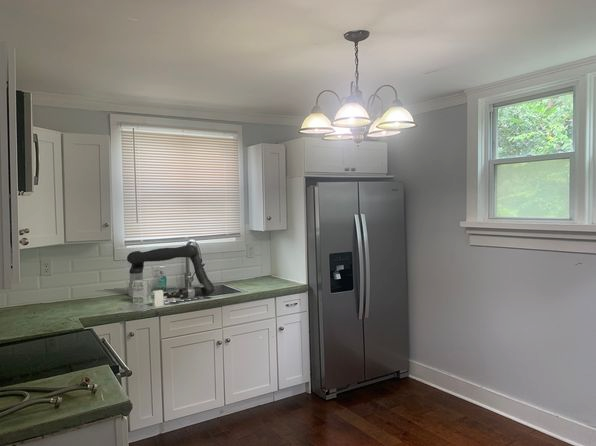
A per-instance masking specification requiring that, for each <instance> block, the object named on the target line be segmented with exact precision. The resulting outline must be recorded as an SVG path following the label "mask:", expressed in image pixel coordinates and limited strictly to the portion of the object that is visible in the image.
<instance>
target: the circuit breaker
mask: <svg viewBox="0 0 596 446" xmlns="http://www.w3.org/2000/svg"><path fill="white" fill-rule="evenodd" d="M133 286H134V287H133V297H132V304H139V305H145V303H147V302H149V296H151V295H152V285H151V283H149V279H143V280H136V281H133Z"/></svg>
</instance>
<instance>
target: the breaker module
mask: <svg viewBox="0 0 596 446" xmlns="http://www.w3.org/2000/svg"><path fill="white" fill-rule="evenodd" d="M163 293H164V290H163V289H158V290H157V289H156V290H151V295H150V296H151V297H150V298H151V299H152V306H156V307H155V308H157V307H162V306H164V304H165V303H164V296H163Z"/></svg>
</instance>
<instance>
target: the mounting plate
mask: <svg viewBox="0 0 596 446" xmlns="http://www.w3.org/2000/svg"><path fill="white" fill-rule="evenodd" d="M156 308H157V307H156V306H153V305H148V304H147V305H146V304H139V303H129V304H126V305H123V306H119V307H118V310H127V311H136V312H146V311H149V310H152V309H156Z"/></svg>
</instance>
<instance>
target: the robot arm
mask: <svg viewBox="0 0 596 446" xmlns="http://www.w3.org/2000/svg"><path fill="white" fill-rule="evenodd" d="M177 258H189V259H190V261H191V263H192V265H193V270H194V272H195V277H196V279H197V281H198V283H199V284H200V285H202V287H200V286H194V287H193V286H191V287H189V286H188V287H181V288H179V289H178V291H177V290H171V291H170V290H169V291H166V292H163V297H166V299H175V300H176V299H180V300H186V299H192V298H196V297H209V296H210V295H212V294H213V293H214V292H215V285H214V284H213V283H212V281H211V280H210V279H209V277H208V275H207V273H206V271H205V269H204V266H203V264H202V261H201V258H200V255H199V250H198V248H197V246H195V245H193V244H187V245H182V246H177V247H160V248H154V249H150V250H148V251H147V250H146V251H140V250H136V251H131V252H130V253H128V255H127V257H126V259H127V260H126V261H127V262H128V263H129V264H131V267H130V268H129V272H128V273H129V282H128V296H129V297H131V298H133V287H134V286H133V281H136V280H144V279H143V278H144V273H143V271H144V266H145V265H144V264H145V262H163V261H170V260H174V259H177Z"/></svg>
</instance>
